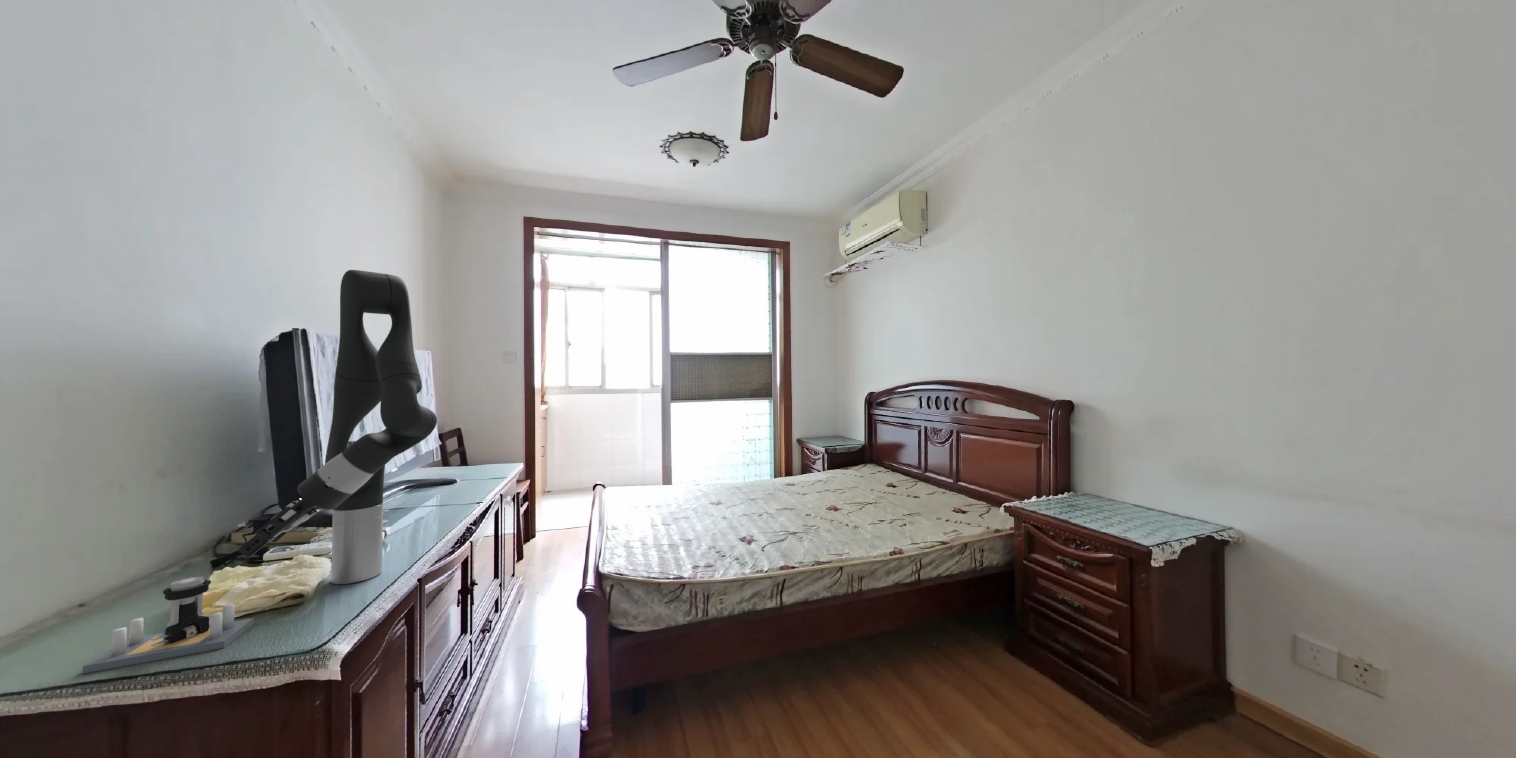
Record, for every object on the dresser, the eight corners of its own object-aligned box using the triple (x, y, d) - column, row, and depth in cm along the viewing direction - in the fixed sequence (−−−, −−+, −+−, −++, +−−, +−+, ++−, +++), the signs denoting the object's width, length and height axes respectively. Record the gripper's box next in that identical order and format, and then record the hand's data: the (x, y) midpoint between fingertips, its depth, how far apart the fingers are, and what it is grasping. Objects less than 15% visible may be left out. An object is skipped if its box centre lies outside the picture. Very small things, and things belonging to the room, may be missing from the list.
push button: (161, 650, 76) (164, 591, 76) (141, 647, 77) (143, 588, 77) (217, 630, 82) (218, 575, 83) (196, 627, 83) (198, 573, 84)
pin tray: (128, 645, 80) (129, 615, 80) (253, 624, 87) (254, 597, 87) (82, 673, 72) (83, 640, 72) (224, 647, 79) (225, 617, 79)
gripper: (335, 462, 95) (259, 524, 90) (303, 473, 82) (212, 545, 77) (367, 485, 97) (294, 546, 92) (340, 499, 84) (254, 571, 79)
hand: (257, 546), depth 84 cm, fingers open, 8 cm apart
